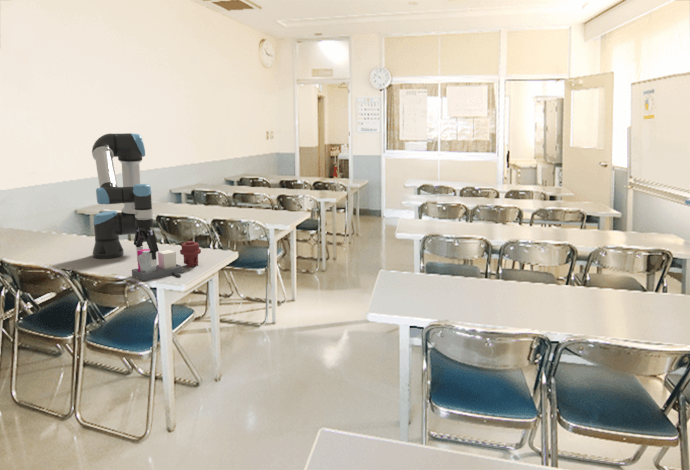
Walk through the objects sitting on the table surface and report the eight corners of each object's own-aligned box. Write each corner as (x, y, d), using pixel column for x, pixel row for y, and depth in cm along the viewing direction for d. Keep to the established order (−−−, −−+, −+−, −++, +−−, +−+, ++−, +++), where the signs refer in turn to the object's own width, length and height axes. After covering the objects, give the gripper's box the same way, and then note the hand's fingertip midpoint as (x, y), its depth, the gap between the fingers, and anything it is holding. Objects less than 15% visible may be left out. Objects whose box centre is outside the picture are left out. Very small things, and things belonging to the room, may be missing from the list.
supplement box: (156, 273, 248) (155, 249, 245) (146, 276, 243) (145, 252, 240) (148, 271, 251) (146, 248, 248) (138, 274, 246) (136, 250, 243)
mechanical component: (205, 263, 269) (195, 269, 260) (186, 262, 271) (177, 267, 262) (203, 240, 267) (194, 244, 257) (185, 239, 269) (175, 243, 259)
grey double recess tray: (132, 275, 247) (130, 255, 245) (172, 267, 261) (171, 248, 259) (149, 284, 235) (147, 262, 233) (190, 275, 249) (189, 254, 247)
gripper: (124, 215, 247) (127, 259, 251) (148, 223, 230) (151, 270, 234) (139, 213, 252) (142, 256, 257) (164, 221, 235) (167, 267, 240)
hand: (146, 263), depth 246 cm, fingers open, 13 cm apart
